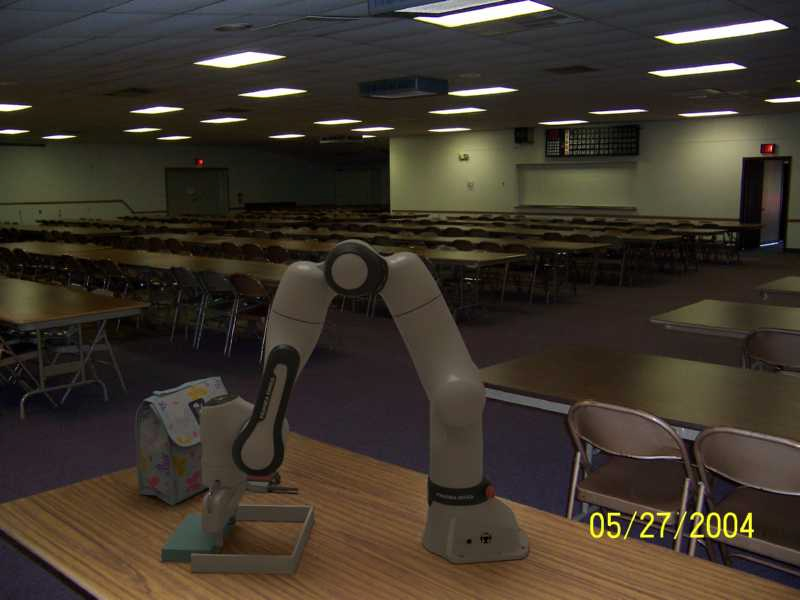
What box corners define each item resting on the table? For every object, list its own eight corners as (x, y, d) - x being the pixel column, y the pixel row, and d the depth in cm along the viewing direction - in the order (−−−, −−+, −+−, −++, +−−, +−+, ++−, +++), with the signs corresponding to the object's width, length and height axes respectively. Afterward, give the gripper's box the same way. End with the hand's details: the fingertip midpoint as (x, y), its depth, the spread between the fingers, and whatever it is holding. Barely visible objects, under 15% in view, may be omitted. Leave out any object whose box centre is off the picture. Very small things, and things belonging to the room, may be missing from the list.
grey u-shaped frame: (314, 520, 162) (313, 505, 162) (294, 574, 139) (293, 557, 139) (225, 518, 163) (225, 504, 163) (191, 571, 140) (190, 555, 140)
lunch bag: (178, 511, 167) (172, 401, 163) (131, 495, 176) (125, 390, 172) (247, 478, 186) (243, 379, 182) (201, 466, 195) (197, 371, 191)
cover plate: (233, 527, 160) (232, 514, 159) (210, 564, 144) (210, 550, 144) (189, 526, 160) (188, 513, 160) (161, 563, 145) (161, 549, 144)
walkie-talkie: (220, 491, 179) (297, 497, 176) (219, 474, 179) (296, 479, 175) (234, 477, 188) (307, 482, 184) (233, 461, 187) (307, 466, 184)
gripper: (224, 492, 139) (226, 559, 141) (250, 454, 159) (252, 513, 161) (192, 492, 139) (194, 558, 141) (222, 454, 159) (225, 512, 161)
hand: (225, 534), depth 151 cm, fingers open, 8 cm apart
